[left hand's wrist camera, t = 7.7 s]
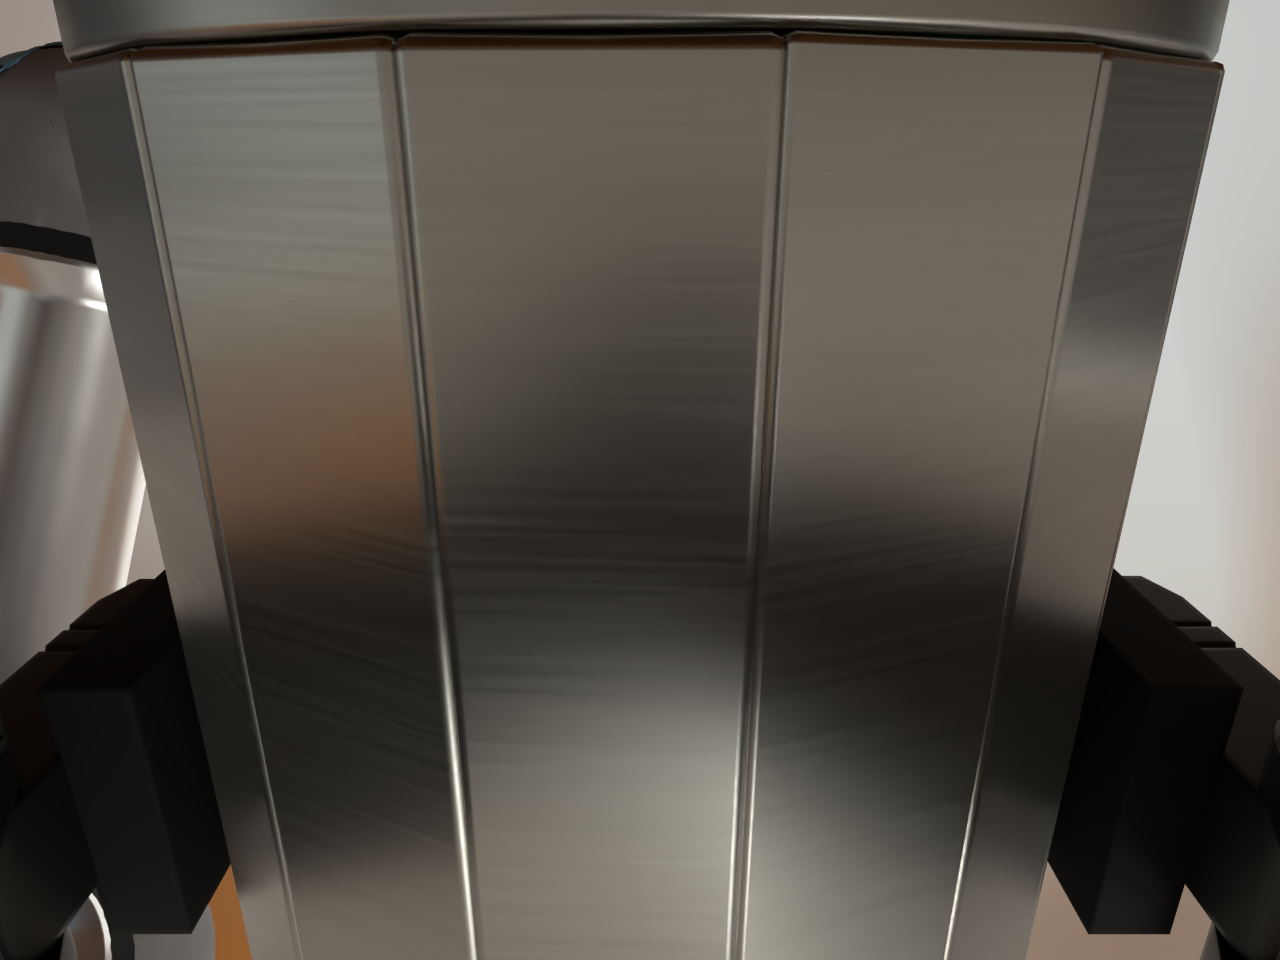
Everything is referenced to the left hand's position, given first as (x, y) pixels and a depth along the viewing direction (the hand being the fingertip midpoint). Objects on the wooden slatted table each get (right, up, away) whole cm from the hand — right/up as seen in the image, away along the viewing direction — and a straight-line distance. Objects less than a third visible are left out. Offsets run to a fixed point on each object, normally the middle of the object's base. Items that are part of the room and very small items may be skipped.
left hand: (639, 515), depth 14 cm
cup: (0, +4, -6) cm, 8 cm away
